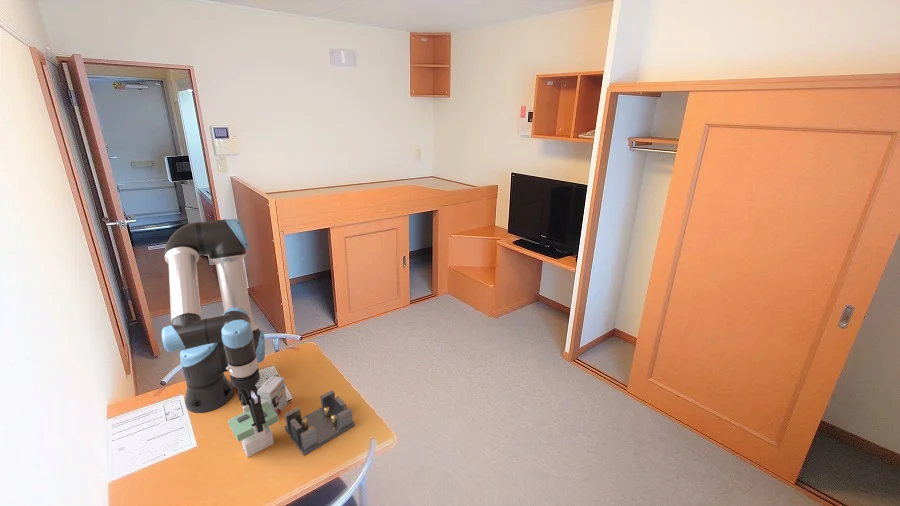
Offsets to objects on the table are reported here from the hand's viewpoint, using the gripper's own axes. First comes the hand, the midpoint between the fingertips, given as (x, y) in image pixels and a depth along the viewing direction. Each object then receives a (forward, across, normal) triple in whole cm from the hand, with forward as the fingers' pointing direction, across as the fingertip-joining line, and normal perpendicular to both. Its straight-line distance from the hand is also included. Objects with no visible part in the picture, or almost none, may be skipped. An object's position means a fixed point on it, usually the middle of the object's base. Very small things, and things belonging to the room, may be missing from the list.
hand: (255, 428), depth 125 cm
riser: (+7, +1, 0) cm, 7 cm away
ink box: (+7, -11, +10) cm, 17 cm away
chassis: (+7, +7, +18) cm, 20 cm away
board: (-2, 0, 0) cm, 2 cm away
